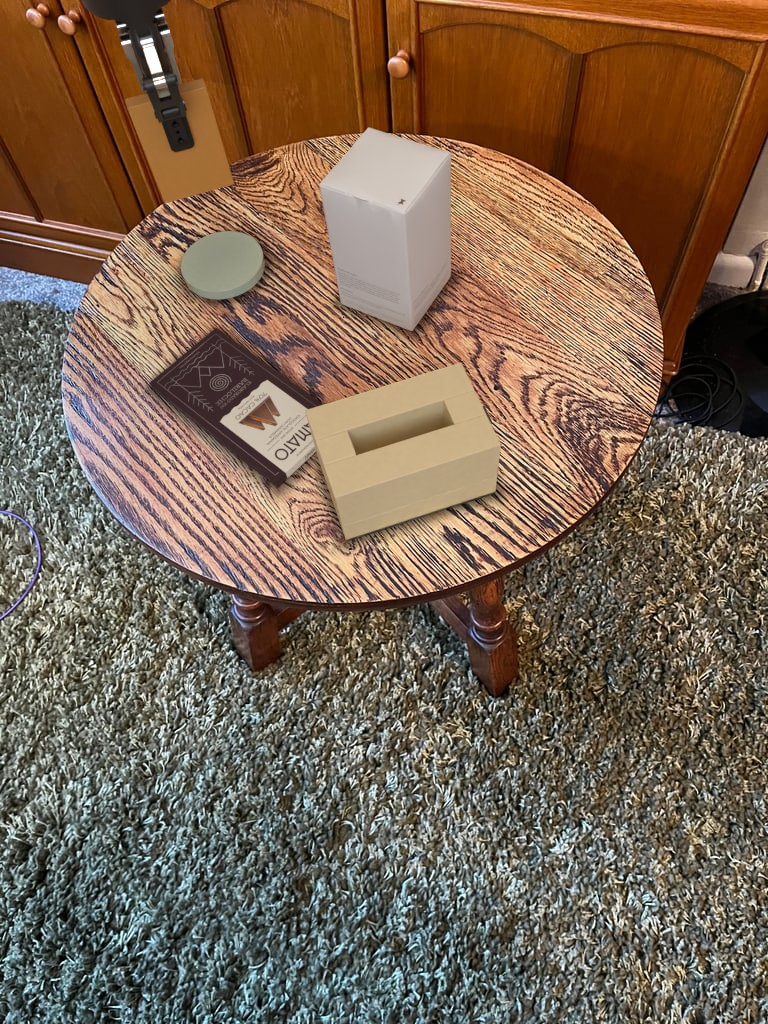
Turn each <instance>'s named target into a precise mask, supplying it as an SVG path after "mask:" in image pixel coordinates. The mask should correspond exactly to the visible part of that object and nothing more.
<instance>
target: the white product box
mask: <svg viewBox="0 0 768 1024" xmlns="http://www.w3.org/2000/svg"><path fill="white" fill-rule="evenodd" d="M318 188H319V192H320V197H321V202H322V208H323V214H324V219H325V224H326V231H327V236H328V241H329V247H330V252H331V257H332V258H331V259H332V263H333V269H334V274H335V279H336V280H335V281H336V285H337V291H338V294H339V295H338V297H339V303H340V304H341V305H343V306H345V307H348V308H351V309H353V310H355V311H358V312H361V313H364V314H366V315H368V316H371V317H374V318H375V319H379V320H381V321H384V322H386V323H389V324H391V325H394V326H397V327H399V328H401V329H405V330H407V331H410V332H413V331H414V330H415V328H416V327H417V325H418V324H419V323H420V321H421V320H422V318H423V317H424V316H425V314H426V313H427V311H428V310H429V308H430V307H431V306H432V304H433V303H434V301H435V300H436V299H437V297H438V295H440V293H441V292H442V290H443V288H444V287H445V286H446V284H447V283H448V281H449V280H450V278H451V277H452V152H451V151H446V150H444V149H441V148H437V147H433V146H430V145H427V144H423V143H420V142H416V141H414V140H410V139H407V138H404V137H400V136H399V135H395V134H392V133H388V132H386V131H385V132H384V131H382V130H379V129H375V128H373V127H367V128H366V129H365V130H364V132H363V133H362V134H361V135H360V136H359V137H358V139H356V141H354V143H353V144H352V146H351V147H350V148H349V149H348V151H346V153H345V154H344V155H343V156H342V158H341V159H339V160H338V162H337V163H336V164H335V165H334V166H333V167H332V168H331V169H330V171H329V172H328V173H327V174H326V175H325V176H324V177H323V179H322V180H321V182H319V184H318Z"/></svg>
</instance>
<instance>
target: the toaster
mask: <svg viewBox="0 0 768 1024" xmlns="http://www.w3.org/2000/svg"><path fill="white" fill-rule="evenodd" d="M305 413H306V416H307V420H308V424H309V427H310V431H311V435H312V438H313V442H314V445H315V449H316V452H315V453H316V457H317V460H318V463H319V466H320V468H321V472H322V474H323V478H324V481H325V484H326V487H327V490H328V492H329V495H330V498H331V501H332V505H333V507H334V509H335V513H336V516H337V519H338V522H339V525H340V528H341V530H342V533H343V536H344V540H345V542H346V543H347V542H350V541H353V540H356V539H360V538H363V537H366V536H369V535H372V534H375V533H378V532H381V531H384V530H387V529H390V528H394V527H397V526H400V525H403V524H406V523H410V522H412V521H415V520H418V519H421V518H424V517H427V516H430V515H434V514H436V513H440V512H442V511H446V510H449V509H452V508H455V507H458V506H461V505H465V504H467V503H471V502H474V501H476V500H479V499H483V498H486V497H489V496H492V495H496V493H497V490H496V489H497V482H498V475H499V466H500V465H499V464H500V457H501V456H500V455H501V448H502V443H501V442H500V439H499V437H498V435H497V434H496V432H495V429H494V427H493V420H492V418H491V416H490V414H489V412H488V409H487V408H486V406H485V405H482V402H481V400H480V399H479V396H478V393H477V392H476V391H475V388H474V386H473V384H472V382H471V380H470V378H469V376H468V373H467V372H466V369H465V367H464V365H463V363H462V362H457V363H454V364H450V365H447V366H445V367H441V368H438V369H435V370H431V371H428V372H425V373H421V374H419V375H415V376H412V377H409V378H406V379H405V378H404V379H402V380H400V381H396V382H392V383H389V384H386V385H383V386H379V387H376V388H373V389H370V390H367V391H363V392H359V393H356V394H354V395H350V396H347V397H343V398H340V399H337V400H334V401H331V402H327V403H325V404H323V405H321V406H317V407H314V408H311V409H308V410H305Z"/></svg>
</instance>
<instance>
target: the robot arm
mask: <svg viewBox="0 0 768 1024" xmlns="http://www.w3.org/2000/svg"><path fill="white" fill-rule="evenodd" d="M80 1H81V3H82V5H83V7H84V8H85V9H86V10H87V11H88V12H89V13H90V14H92V15H93V16H95V17H97V18H100V19H102V20H106V21H114V22H115V26H116V28H117V31H118V34H119V35H118V38H119V40H120V43H121V46H122V49H123V52H124V54H125V57H126V59H127V60H128V61H129V62H130V63H131V64H132V67H133V70H134V72H135V75H136V79H137V81H138V83H139V86H140V89H141V91H142V93H143V94H148V96H149V99H150V101H151V104H152V106H153V109H154V115H155V117H156V119H157V118H158V121H159V123H162V125H163V128H164V131H165V134H166V137H167V139H168V142H169V145H170V148H171V150H172V151H173V152H180V151H183V150H187V149H191V148H193V147H194V144H195V143H194V139H193V136H192V133H191V130H190V127H189V124H188V121H187V118H186V116H187V114H186V111H187V108H186V105H185V102H184V99H182V98H181V95H180V92H179V89H178V88H179V86H180V85H181V84H183V79H182V76H181V73H180V70H179V67H178V63H177V60H176V57H175V54H174V50H175V44H174V40H173V37H172V33H171V30H170V28H169V27H170V26H169V23H168V22H167V18H166V16H165V13H164V12H165V11H164V10H163V7H165V6H166V5H168V4H169V3H170V2H171V0H80Z"/></svg>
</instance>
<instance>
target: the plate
mask: <svg viewBox="0 0 768 1024" xmlns="http://www.w3.org/2000/svg"><path fill="white" fill-rule="evenodd" d="M264 255H265V254H264V252H263V249H262V247H261V245H260V243H259V242H258V241H257V239H255V238H254V237H252V236H250V235H249V234H247V233H244V232H241V231H235V230H225V231H217V232H213V233H209V234H207V235H204V236H202V237H201V238H199V239H197V240H196V241H194V242H193V243H192V244H191V245H190V246H189V247H188V248H187V249H186V251H185V252H184V254H183V256H182V258H181V261H180V271H181V275H182V277H183V280H184V282H185V284H186V286H187V288H188V289H189V290H190V291H191V292H192V293H194V294H195V295H197V296H199V297H202V298H205V299H209V300H226V299H227V300H228V299H232V298H235V297H239V296H241V295H243V294H245V293H246V292H249V291H250V290H251V289H253V288H254V287H255V286H256V285H257V284H258V283H259V282H260V280H261V278H262V277H263V275H264V272H265V269H266V260H265V256H264Z"/></svg>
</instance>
